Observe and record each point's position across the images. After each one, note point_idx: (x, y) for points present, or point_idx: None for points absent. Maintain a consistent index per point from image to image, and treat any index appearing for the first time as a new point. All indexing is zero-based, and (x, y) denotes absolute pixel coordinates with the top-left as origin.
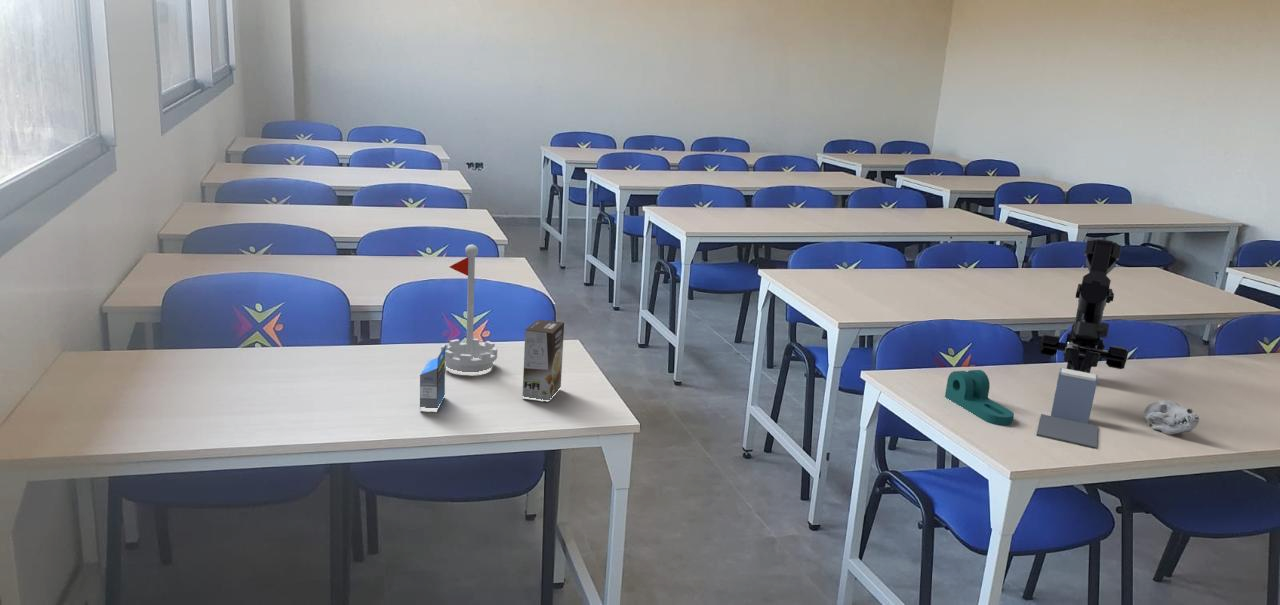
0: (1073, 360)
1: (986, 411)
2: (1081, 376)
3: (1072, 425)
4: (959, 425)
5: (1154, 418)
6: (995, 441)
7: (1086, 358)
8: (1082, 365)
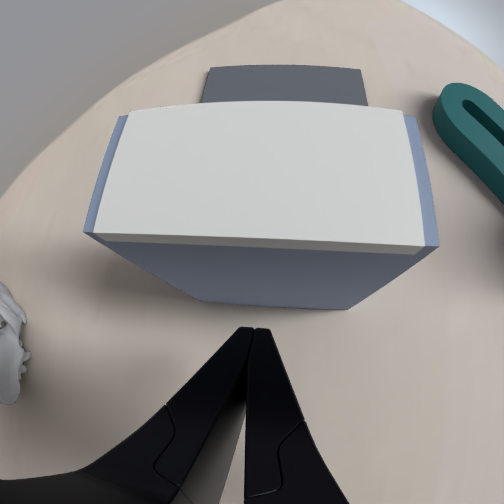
0: (317, 483)
1: (494, 104)
2: (234, 102)
3: None
4: (494, 76)
5: (3, 318)
6: (415, 31)
7: (125, 501)
8: (196, 433)
